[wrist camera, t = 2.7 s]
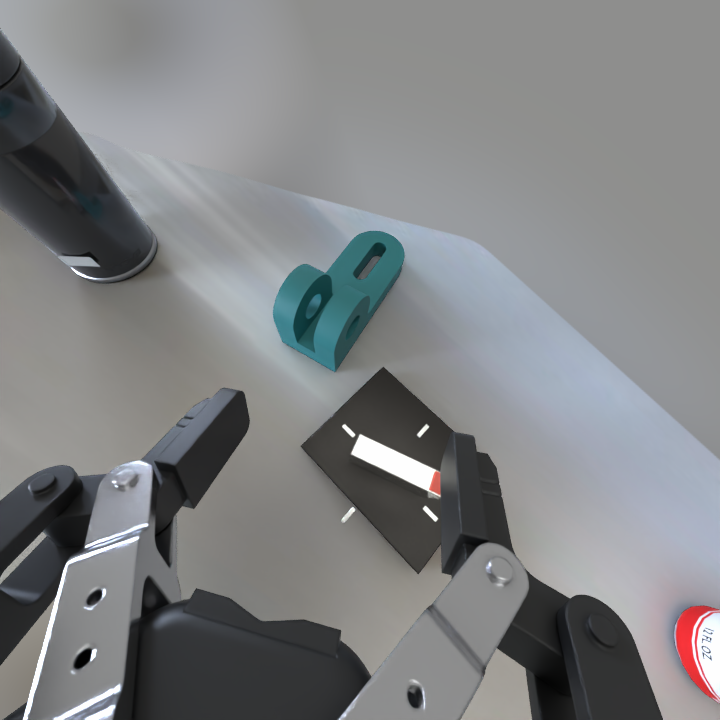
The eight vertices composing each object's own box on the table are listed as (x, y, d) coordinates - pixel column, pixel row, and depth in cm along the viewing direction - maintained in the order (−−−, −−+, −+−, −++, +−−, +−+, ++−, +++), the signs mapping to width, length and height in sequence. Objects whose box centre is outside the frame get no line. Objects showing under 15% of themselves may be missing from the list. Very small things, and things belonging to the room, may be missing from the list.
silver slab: (348, 461, 27) (350, 453, 21) (355, 444, 28) (359, 432, 21) (421, 497, 26) (446, 500, 20) (427, 479, 27) (453, 476, 21)
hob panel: (290, 461, 29) (286, 459, 27) (380, 373, 33) (383, 365, 31) (400, 585, 25) (405, 593, 23) (486, 470, 29) (497, 469, 27)
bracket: (335, 372, 32) (333, 338, 25) (282, 341, 33) (266, 301, 26) (410, 259, 39) (426, 206, 32) (364, 236, 40) (369, 180, 33)
